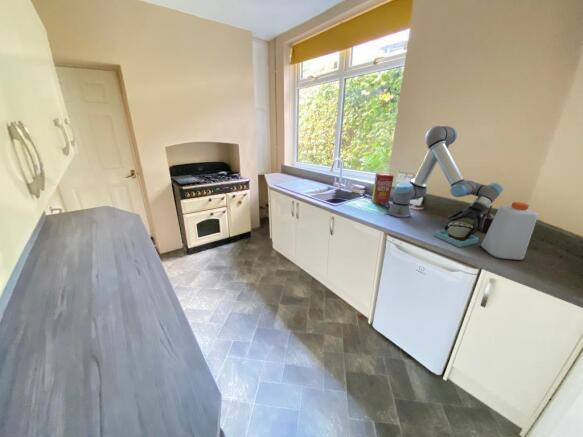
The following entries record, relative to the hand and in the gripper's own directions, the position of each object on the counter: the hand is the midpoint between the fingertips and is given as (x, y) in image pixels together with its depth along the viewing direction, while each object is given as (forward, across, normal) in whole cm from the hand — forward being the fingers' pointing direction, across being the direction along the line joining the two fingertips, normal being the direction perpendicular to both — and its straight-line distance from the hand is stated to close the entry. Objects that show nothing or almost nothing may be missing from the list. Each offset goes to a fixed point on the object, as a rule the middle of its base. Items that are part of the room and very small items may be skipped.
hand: (455, 233), depth 138 cm
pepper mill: (-22, +7, -29) cm, 37 cm away
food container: (+1, +1, -5) cm, 5 cm away
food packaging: (-5, +74, -11) cm, 75 cm away
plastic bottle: (-3, -20, -10) cm, 22 cm away
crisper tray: (+1, 0, -5) cm, 5 cm away
